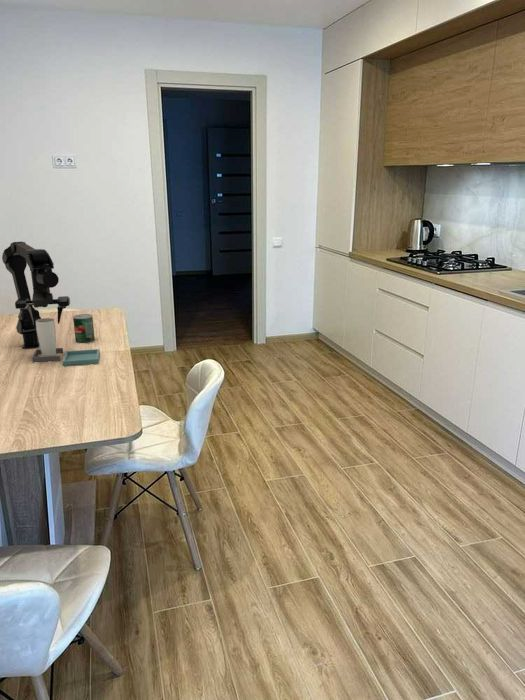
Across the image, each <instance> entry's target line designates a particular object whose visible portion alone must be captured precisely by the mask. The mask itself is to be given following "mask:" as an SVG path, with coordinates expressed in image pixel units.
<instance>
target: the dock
mask: <svg viewBox="0 0 525 700" xmlns="http://www.w3.org/2000/svg"><path fill="white" fill-rule="evenodd" d="M40 354H41V349H40V348H36V349H35V351H34V353H33V355H32V356H31V358H32V359H31V361H32V363H34V364H35V362H37V363H49V362H48V361H51V362H60V361H61V354H64V350H63V347H56V354H59V355H56V356H42V354H41V355H40Z"/></svg>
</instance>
